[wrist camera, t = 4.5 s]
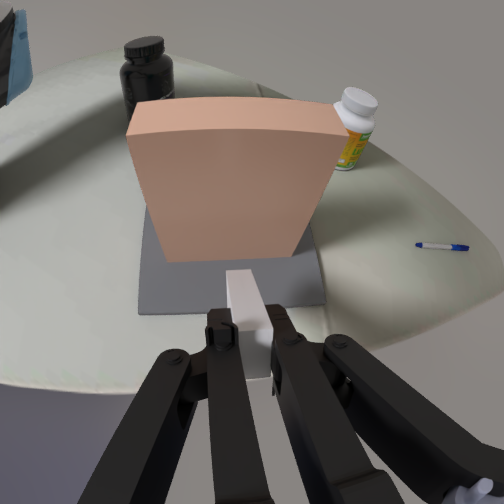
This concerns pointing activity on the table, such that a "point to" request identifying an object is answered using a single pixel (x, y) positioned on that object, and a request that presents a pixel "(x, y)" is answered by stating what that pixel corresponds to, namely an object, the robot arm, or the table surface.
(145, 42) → the supplement bottle
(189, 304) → the mat
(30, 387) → the table surface
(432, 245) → the ballpoint pen
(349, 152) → the supplement bottle
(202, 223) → the tile
